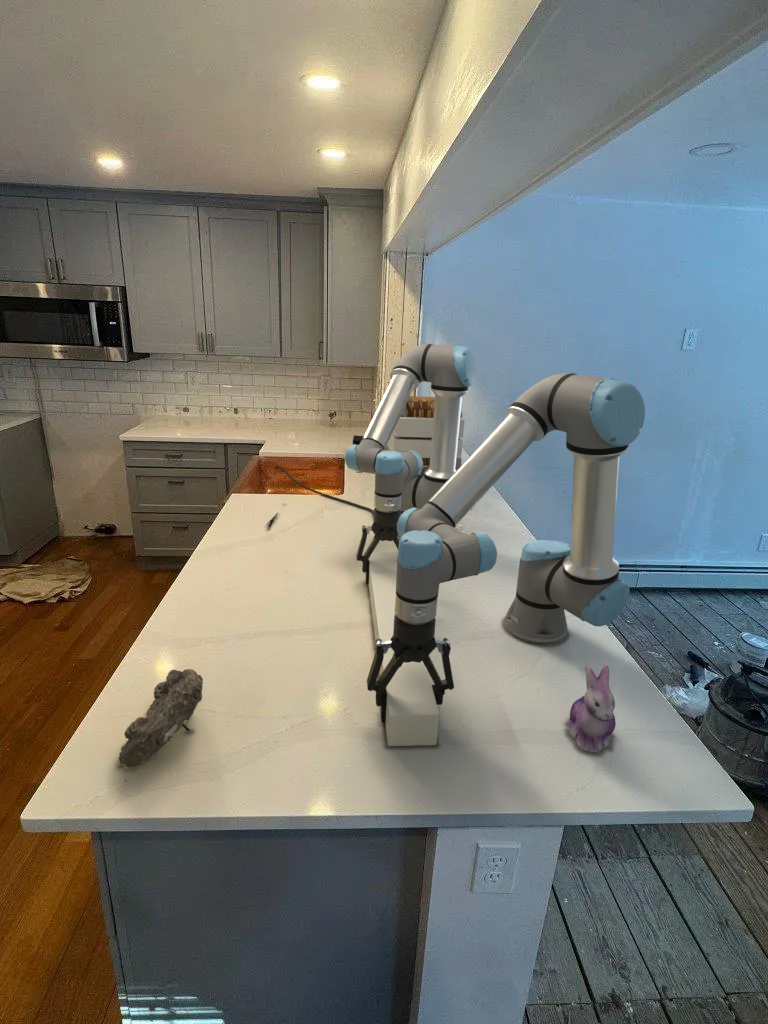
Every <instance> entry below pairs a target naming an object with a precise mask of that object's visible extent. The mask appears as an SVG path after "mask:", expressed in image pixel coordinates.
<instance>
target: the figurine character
mask: <svg viewBox="0 0 768 1024" xmlns="http://www.w3.org/2000/svg"><path fill="white" fill-rule="evenodd" d="M363 436H364V435H353V437H352V445H359V444H360V442H361V440H362V438H363Z"/></svg>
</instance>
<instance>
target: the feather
mask: <svg viewBox="0 0 768 1024" xmlns="http://www.w3.org/2000/svg"><path fill="white" fill-rule="evenodd" d="M278 513H279V512H277V513H276V514H275V515H274V516H273V517H272V518H271V519H269V521H268V522H267V523H266V524H265V526H267V525H268V529H267V530H269V529H270V528H271V526H272V524H273V523H274V521H275V520H276V517H277V516H278Z"/></svg>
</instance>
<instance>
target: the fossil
mask: <svg viewBox="0 0 768 1024" xmlns="http://www.w3.org/2000/svg"><path fill="white" fill-rule="evenodd" d="M203 684H204V680H203V677H202V676H201V674H198V673H197V671H196V670H194V669H192V668H190V669H189V668H186V669H183V670H177V669H171V670H170V671H169V672H168V674H167V676H166V679H165V680H163V681H162V682H159V683H157V684H156V685H155V687H154V688H153V698H154V700H153V701H152V703H151V704H149V705H150V706H149V708H148V709H147V711H146V713H145V715H146V716H145V717H142V716H140V717H137V718H136V719H134V721H132V722H131V723H130V724H129V725H128V726H127V727H126V729H125V731H124V737H125V739H128V740H126V742H125V744H124V745H122V746H121V748H120V752H119V753H118V754H119V756H118V761H119V764H120V765H124V766H125V767H126V768H133V767H138V766H142V767H143V766H144V765H146V764H147V763H148V762H149V761H150V760H151V759H153V757H155V756H157V754H158V753H159V752H160V751H161V750H162V749H163V748H164V747H166V745H167V744H168V743H170V742H171V740H172V739H173V738H174V735H175V734H176V733H178V732H179V730H180V729H181V728H183V729H184V730H185V731H186V732H188V733H189V732H191V729H190V728H189V727H188V726H187V725H186V724H185V722H186V721H189V720H190V718H191V717H193V715H194V711H195V710H196V708H197V706H198V704H199V703H200V702H201V701H202V699H203V687H204V685H203Z"/></svg>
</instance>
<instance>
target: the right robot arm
mask: <svg viewBox="0 0 768 1024" xmlns="http://www.w3.org/2000/svg"><path fill="white" fill-rule="evenodd" d="M645 419H646V406H645V401H644V398H643V395H642V393H641V392H640V390H639V389H637V388H636V386H635V385H633V384H632V383H629V382H627V381H622V380H619V379H617V378H613V377H602V376H601V377H600V376H593V375H587V374H586V375H585V374H578V373H575V372H560V373H556V374H553V375H549V376H547V377H545V378H543V379H541V380H540V381H538V382H537V383H536V384H534V385H532V386H531V387H530V388H529V389H526V390H525V391H524V392H523V393H522V394H521V395H519V396H518V397H517V399H515V400H514V401H513V402H512V403H511V404H510V406H508V407H507V408H506V410H505V418H504V419H503V420H502V421H501V422H500V423H499V424H498V425H497V426H496V428H495V429H493V430H492V432H491V433H490V434H489V435H488V436H487V437H486V438H485V439H484V440H483V441H482V443H480V445H479V446H478V447H477V448H476V449H475V450H474V451H473V452H472V453H471V454H470V455H469V456H468V458H467V459H465V461H464V462H463V463H461V466H460V468H459V469H458V470H457V471H456V472H455V473H454V474H453V475H452V476H451V477H450V478H449V479H448V480H447V482H446V483H445V484H444V485H443V486H442V487H441V488H440V489H439V490H438V491H437V492H436V493H435V494H434V496H433V497H432V498H431V499H430V500H429V501H428V502H427V504H425V505H424V506H423V507H422V509H419V508H411V509H408V510H406V511H405V512H403V513H402V515H401V516H400V518H399V520H398V523H397V532H398V534H399V536H400V540H399V546H398V549H397V552H398V555H397V577H396V596H395V610H394V611H395V616H394V629H393V636H392V638H391V639H390V640H389V641H382V640H381V639H377V640H376V642H375V653H374V656H373V659H372V663H371V665H370V669H369V672H368V675H367V678H366V686H367V687H366V688H367V689H366V690H367V691H369V692H372V691H374V692H375V705H376V707H380V720H381V724H385V723H386V704H387V690H386V687H387V685H388V684H389V682H390V681H391V679H392V678H393V676H394V675H395V673H396V671H397V670H398V668H399V667H401V666H402V664H403V663H409V662H421V661H423V663H424V665H425V667H426V668H427V670H428V672H429V676H430V679H431V681H432V682H433V684H432V688H433V692H434V696H435V700H436V704H437V706H442V705H443V703H444V695H445V694H446V690H449V691H452V690H454V688H455V684H454V678H453V672H452V666H451V661H450V654H451V649H452V647H451V644H450V641H449V639H448V638H447V637H444V638H442V639H441V640H439V639H436V637H435V633H436V622H437V619H436V616H437V610H438V597H439V589H440V584H444V583H447V582H450V581H456V580H459V579H460V580H461V579H464V578H469V577H474V576H475V577H476V576H479V574H483V573H486V572H489V571H492V569H493V568H494V567H495V565H496V563H497V559H498V558H497V557H498V550H497V549H498V548H497V546H496V543H495V542H494V540H493V538H492V537H491V535H489V534H488V533H485V532H471V533H465V532H463V531H461V530H459V529H457V528H456V527H457V525H458V524H459V523H460V522H461V521H462V520H463V519H464V517H465V516H467V514H469V512H470V511H471V510H472V509H473V508H474V507H475V505H477V503H478V502H479V501H481V499H482V498H483V497H484V496H485V495H486V494H487V492H488V491H489V490H490V489H491V488H492V487H493V486H494V485H495V484H496V483H497V482H498V481H499V479H501V477H502V476H503V475H504V474H505V473H507V471H508V470H509V469H510V467H512V466H513V464H514V463H516V461H517V460H518V459H519V458H520V456H522V454H523V453H525V451H526V450H527V449H528V448H529V447H530V446H531V444H532V443H533V442H539V441H542V440H543V439H544V438H545V437H546V436H547V434H549V433H551V432H553V431H559V432H563V433H566V435H565V438H566V439H565V440H566V441H565V447H566V450H567V452H569V453H570V454H571V455H573V466H572V469H573V471H572V495H571V496H572V500H571V527H570V528H571V529H570V544H568V543H566V542H563V541H559V540H550V539H540V540H533V541H529V542H527V543H525V545H523V547H522V549H521V554H520V557H519V564H518V565H519V566H518V575H517V583H516V591H515V597H514V598H513V600H512V602H511V604H510V606H509V607H508V610H507V612H506V613H505V618H504V627H505V629H506V631H508V633H510V634H511V635H512V636H514V637H515V638H517V639H520V640H522V641H525V642H528V643H530V644H531V643H532V644H537V645H553V644H557V643H560V642H561V641H563V640H564V639H565V638H566V637H567V634H568V633H567V632H568V622H567V618H566V617H567V616H566V613H565V611H566V612H568V613H569V614H571V615H573V616H574V617H576V618H578V619H579V620H580V621H581V622H586V623H588V624H589V625H591V626H594V627H604V626H606V625H608V624H610V623H612V622H613V621H614V620H615V619H616V618H618V616H620V614H621V613H622V611H623V610H624V608H625V607H626V605H627V603H628V600H629V597H630V594H631V590H630V586H629V584H628V583H626V581H625V580H622V579H620V577H619V576H620V565H619V562H618V561H617V559H616V558H614V557H613V553H614V541H615V528H616V527H615V526H616V525H615V524H616V511H617V497H618V495H617V494H618V482H619V481H618V480H619V467H620V456H622V454H625V452H627V451H628V450H629V445H630V444H632V443H633V442H634V441H636V439H638V437H639V436H640V434H641V431H640V429H642V428H643V426H644V424H645ZM389 648H392V650H393V651H394V654H393V657H392V659H391V660H390V662H389V663H388V665H387V666H386V668H385V669H384V671H383V673H382V674H381V676H380V675H379V671H380V668H381V665H382V662H383V658H384V654H386V653H387V651H388V649H389ZM436 648H437V651H438V653H440V657H441V663H442V668H443V674H444V679H442V678H441V676H440V674H439V672H438V670H437V668H436V667H435V664H434V662H433V660H432V659H431V656H430V655H431V653H433V651H434V650H435V649H436Z"/></svg>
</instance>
